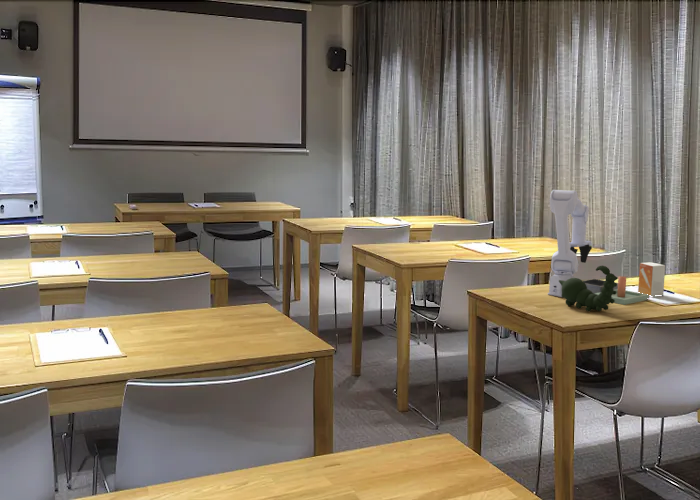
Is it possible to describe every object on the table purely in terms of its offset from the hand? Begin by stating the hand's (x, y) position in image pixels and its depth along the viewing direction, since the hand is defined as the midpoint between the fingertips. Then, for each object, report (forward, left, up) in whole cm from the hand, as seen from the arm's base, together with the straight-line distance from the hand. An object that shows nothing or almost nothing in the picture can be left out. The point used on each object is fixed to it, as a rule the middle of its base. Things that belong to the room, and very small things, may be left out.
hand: (577, 263), depth 316 cm
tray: (-6, -26, -11) cm, 29 cm away
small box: (+11, -28, -11) cm, 32 cm away
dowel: (-6, -26, -10) cm, 28 cm away
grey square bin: (0, -10, -11) cm, 15 cm away
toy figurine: (-32, -29, -11) cm, 44 cm away
